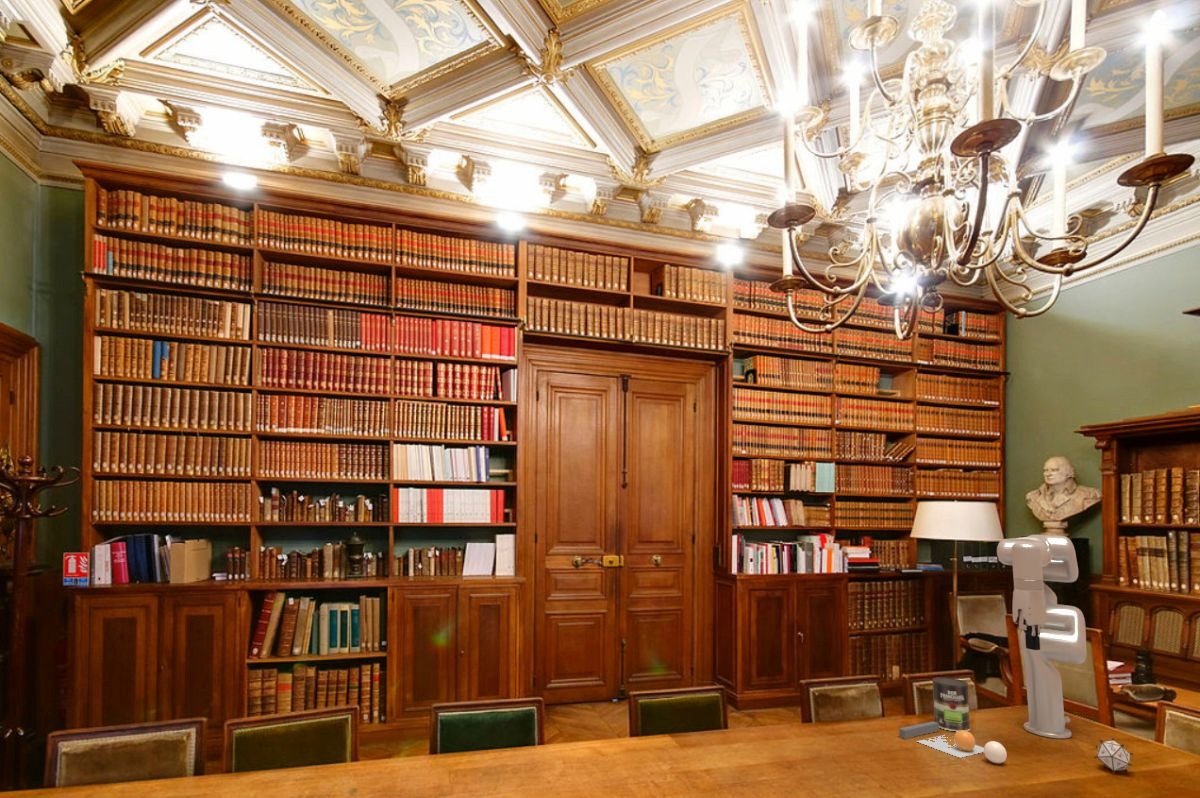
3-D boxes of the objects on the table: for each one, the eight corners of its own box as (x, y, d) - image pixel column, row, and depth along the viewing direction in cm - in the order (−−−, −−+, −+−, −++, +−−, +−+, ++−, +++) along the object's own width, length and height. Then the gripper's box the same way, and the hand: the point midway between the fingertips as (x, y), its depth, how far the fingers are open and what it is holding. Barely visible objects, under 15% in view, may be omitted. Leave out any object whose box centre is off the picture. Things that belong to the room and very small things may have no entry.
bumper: (933, 729, 212) (932, 721, 212) (939, 731, 210) (938, 723, 211) (899, 737, 205) (899, 728, 205) (905, 739, 203) (904, 730, 203)
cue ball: (1013, 748, 185) (1006, 765, 186) (993, 735, 189) (987, 751, 190) (1003, 752, 182) (997, 770, 183) (983, 739, 186) (977, 756, 187)
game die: (1125, 788, 180) (1146, 765, 175) (1091, 773, 182) (1111, 749, 177) (1115, 760, 187) (1135, 738, 183) (1082, 746, 190) (1101, 723, 185)
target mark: (945, 735, 207) (945, 734, 207) (990, 750, 195) (990, 749, 195) (916, 742, 201) (916, 741, 201) (959, 758, 188) (959, 757, 188)
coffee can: (972, 734, 208) (970, 687, 210) (936, 729, 212) (933, 683, 214) (968, 724, 218) (965, 679, 220) (933, 720, 221) (930, 675, 223)
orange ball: (979, 753, 193) (961, 745, 198) (979, 733, 194) (962, 726, 199) (967, 755, 191) (949, 747, 196) (967, 735, 191) (950, 728, 196)
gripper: (1030, 582, 207) (1034, 644, 204) (1001, 584, 200) (1005, 648, 197) (1056, 585, 200) (1060, 649, 197) (1026, 588, 193) (1031, 654, 190)
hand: (1033, 649), depth 197 cm, fingers closed
